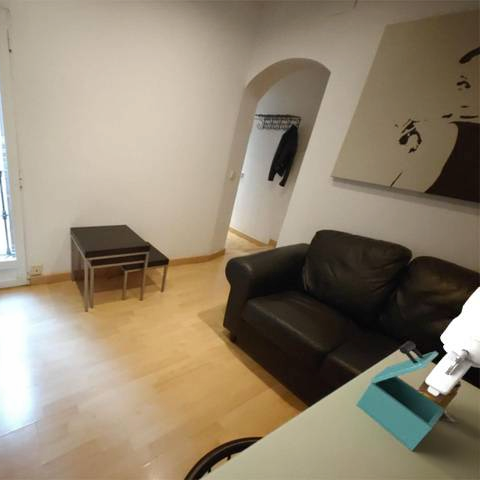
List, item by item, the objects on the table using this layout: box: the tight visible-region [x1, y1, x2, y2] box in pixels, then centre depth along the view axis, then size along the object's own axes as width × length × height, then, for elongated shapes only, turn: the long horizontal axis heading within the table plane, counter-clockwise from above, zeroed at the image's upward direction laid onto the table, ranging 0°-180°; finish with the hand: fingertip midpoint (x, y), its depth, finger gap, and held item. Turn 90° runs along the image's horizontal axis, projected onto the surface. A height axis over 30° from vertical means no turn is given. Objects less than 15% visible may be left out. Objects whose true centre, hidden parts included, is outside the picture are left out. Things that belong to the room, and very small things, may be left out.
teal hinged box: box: [356, 376, 446, 452], centre depth 70 cm, size 13×11×9 cm
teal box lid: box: [370, 340, 439, 383], centre depth 69 cm, size 13×11×5 cm
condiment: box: [416, 380, 462, 424], centre depth 74 cm, size 7×8×12 cm
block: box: [418, 377, 447, 403], centre depth 63 cm, size 4×4×4 cm
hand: (436, 388), depth 63 cm, fingers closed on block, 4 cm apart
